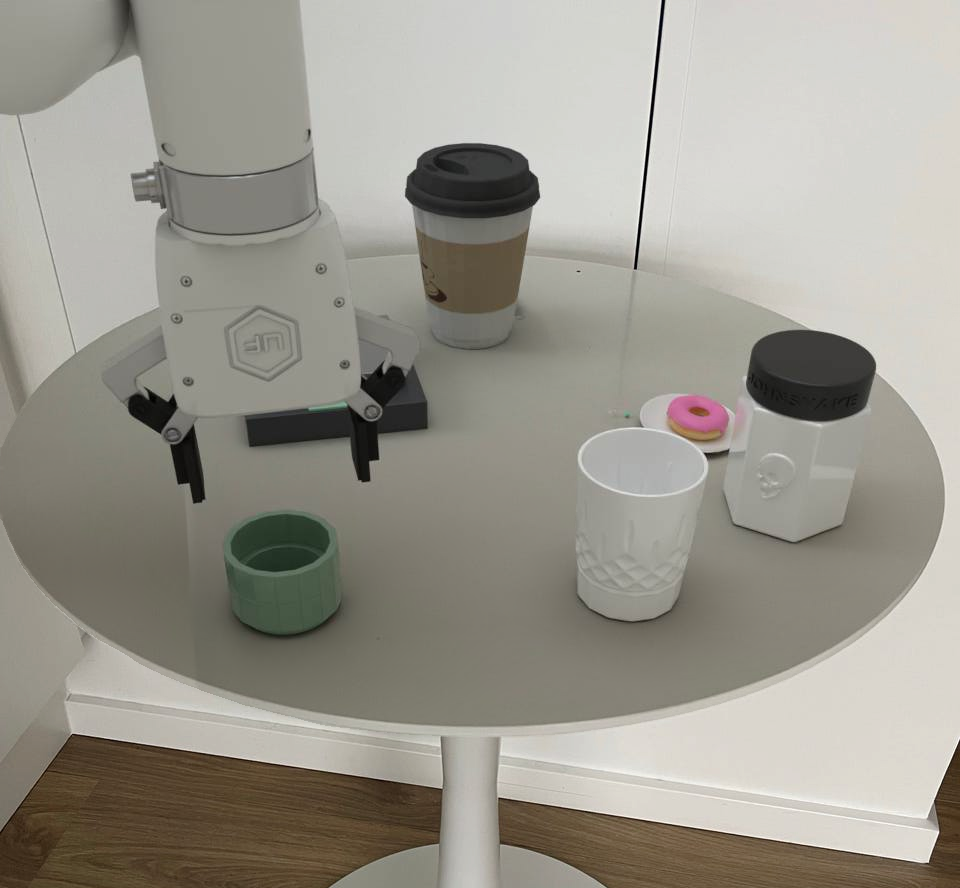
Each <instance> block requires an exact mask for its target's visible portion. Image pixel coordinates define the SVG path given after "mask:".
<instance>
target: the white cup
mask: <svg viewBox="0 0 960 888" xmlns="http://www.w3.org/2000/svg"><path fill="white" fill-rule="evenodd" d="M576 460H577V463H576V464H577V465H576V466H577V467H576V500H575V534H574V535H575V556H576V591H577V595H578V597H579V598H580V599H581V600H582V602H583V603H584V604H585V605H586V606H587V608H588V609H590V610H591V611H594V612H595V613H598V614H600V615H602V616H604V617H606V618H608V619H613V620H620V621H625V622H638V621H645V620H646V621H647V620H654V619H656V618H658V617H659V616H661V615H663V614H665V613H667V612H669V611H670V610H672V608H673V606H674V605H675V603H676V602H677V600H678V598H679V597H680V592H681V589H682V582H683V578H684V572H685V571H686V567H687V564H688V562H689V561H688V560H689V557H690V553H691V548H692V544H693V541H694V537H695V533H696V528H697V524H698V519H699V514H700V510H701V505H702V500H703V495H704V492H705V487H706V481H707V478H708V473H709V462H708V459H707V456H706V455H705V453H703V452H702V451H701V450H700V449H699V448H698V447H697V446H696V445H694V444H693V443H692V442H690V441H688V440H687V439H685V438H683V437H680V436H678V435H676V434H673V433H670V432H666V431H662V430H657V429H651V428H644V427H637V426H636V427H635V426H632V427H630V426H629V427H620V428H612V429H608V430H606V431H602V432H600V433H597V434H595V435H593V436H591V437H590V438H589V439H587V440H586V441H585V442H584V443H583V444H582V445H581V446H580V448H579V450H578V452H577V459H576Z"/></svg>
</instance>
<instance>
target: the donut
mask: <svg viewBox="0 0 960 888" xmlns="http://www.w3.org/2000/svg"><path fill="white" fill-rule="evenodd" d="M604 413H605V414H606V413H607V409H605V411H604ZM608 414H611V415H613V414H614V415H615V416H616V415H617V410H611V411H610V410H609V411H608ZM620 415H621V410H619V411H618V416H620ZM624 415H625V417H626V418H627V417H629V416H630V413H629V412H625V413H624ZM735 416H736V413H735V412H733V411H732V410H731V409H729V408H728V407H726V406H725V405H723V404H722V403H720V402H718V401H716V400H714V399H712V398H709V397H706V396H704V395H700V394H687V393H670V394H669V393H668V394H662V395H658V396H655V397H653V398H650V399H649V400H647V401H646V402H645V403H644V404H643V405H642V406H641V409H640V410H639V420H640V423H641V425H642V428H651V429H657V430H662V431H666V432H670V433H673V434H676V435H678V436H680V437H683V438H685V439H687V440H688V441H690V442H692V443H693V444H694V445H696V446H697V447H698V448H699V449H700V450H701V451H702V452H703V453H704V454H711V453H720V452H724V451H727V450H730V445H731V439H732V433H733V428H734V422H735Z"/></svg>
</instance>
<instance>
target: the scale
mask: <svg viewBox="0 0 960 888" xmlns="http://www.w3.org/2000/svg"><path fill="white" fill-rule="evenodd" d="M405 380H406V381H405V384H404V386H403V387H402V388H401V389H400V390H399V391H398V393H397V394H396V395H395V396H394V397H393V398H392V399H391V400H390V401H389V402H388V403H387V404H386V405H385V407H384V408H383V409H382V415H381V417H380V418H379V419H378V420H377V432H378V434H385V433H394V432H403V431H414V430H415V431H416V430H423V429H428V428H429V424H428V423H429V420H428V419H429V418H428V417H429V415H428V410H429V409H428V400H427V398H426V393H425V392H424V389H423V387H422V384H421V382H420V379H419V377H418V373H417V371H416V368H415V366H414V364H413V365H412V367H411V369H410V371H408V378H406V379H405ZM244 421H245V426H246V433H247V441H248V447H255V446H266V445H275V444H276V445H278V444H285V443H287V444H288V443H296V442H305V441H315V440H316V441H317V440H327V439H334V438H335V439H336V438H345V437H350V431H349V419H348V408H347V404H346V403H345V402H341V403H337V404H333V405H327V406H320V407H313V408H304V409H296V410H287V411H279V412H270V413H261V414H252V415H244Z"/></svg>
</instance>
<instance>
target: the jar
mask: <svg viewBox="0 0 960 888" xmlns="http://www.w3.org/2000/svg"><path fill="white" fill-rule="evenodd" d="M876 372H877V362H876V360H875V357H874V356H873V355H872V353H871V352H870V350H868V349H867V348H865V347H864V346H862V345H861V344H860V343H858V342H856V341H854V340H852V339H849V338H847V337H845V336H841V335H838V334H835V333H833V332H832V333H831V332H827V331H820V330H811V329H788V330H787V329H786V330H781V331H776V332H773V333H770V334H767V335H765V336H762V337H761V338H760V339H759V340H757V341H756V342H755V343H754V344H753V346H752V349H751V351H750V358H749V364H748V368H747V374H745V375H743V376H742V377H741V383H740V389H739V394H738V400H737V405H736V410H735V411H736V412H735V415H736V416H735V422H734V428H733V433H732V439H731V445H730V449H728V450H729V451H728V456H727V462H726V468H725V474H724V479H723V485H722V491H723V493H724V497H725V500H726V504H727V507H728V511H729V515H730V517H731V521H732V523H733V525H736V526H739V527H742V528H745V529H749V530H752V531H756V532H759V533H761V534H765V535H768V536H772V537H774V538H778V539H781V540H784V541H787V542H790V543H797V542H800V541H803V540H805V539H807V538H810V537H812V536H815V535H818V534H821V533H823V532H825V531H828V530H831V529H834V528H837V527H839V526H841V525H843V523H844V519H845V515H846V511H847V507H848V504H849V500H850V496H851V492H852V488H853V484H854V480H855V477H856V473H857V469H858V465H859V462H860V458H861V453H862V450H863V446H864V443H865V439H866V435H867V431H868V427H869V424H870V419H871V417H872V412H873V410H872V407H871V405H870V402H869V398H870V395H871V391H872V388H873V383H874V380H875V377H876V376H875V375H876Z"/></svg>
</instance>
